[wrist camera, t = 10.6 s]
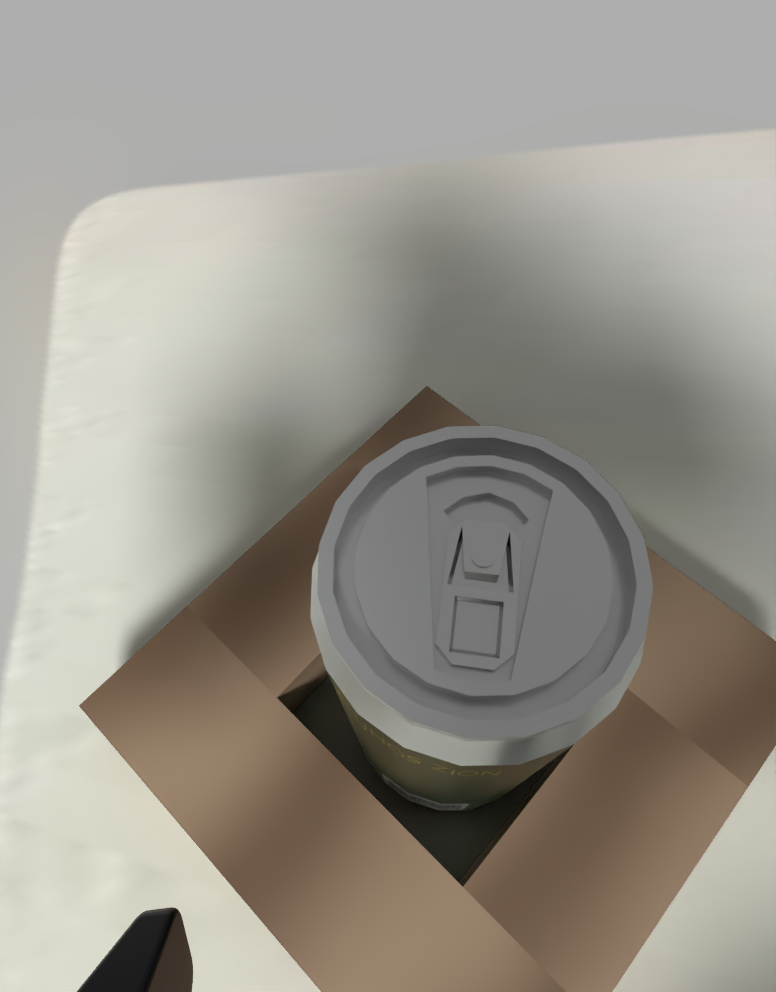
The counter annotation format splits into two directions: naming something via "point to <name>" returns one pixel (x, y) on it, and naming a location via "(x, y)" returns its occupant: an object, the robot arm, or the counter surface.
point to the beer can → (478, 609)
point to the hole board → (375, 831)
